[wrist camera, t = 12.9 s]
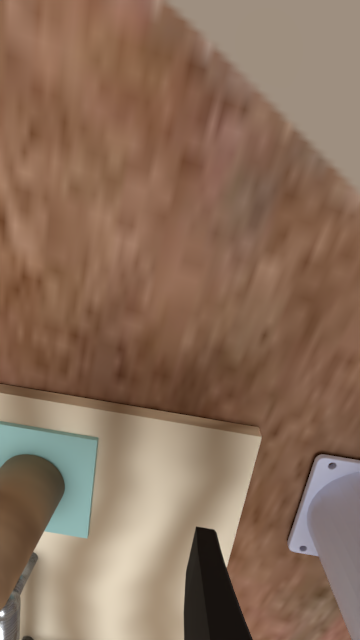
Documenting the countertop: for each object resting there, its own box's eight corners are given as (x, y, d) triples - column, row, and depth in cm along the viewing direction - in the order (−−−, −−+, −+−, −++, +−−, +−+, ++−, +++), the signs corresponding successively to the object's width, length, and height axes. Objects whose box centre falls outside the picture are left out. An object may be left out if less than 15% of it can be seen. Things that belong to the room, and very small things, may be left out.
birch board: (258, 427, 19) (261, 437, 18) (190, 683, 26) (190, 700, 25) (-46, 376, 19) (-59, 383, 18) (-35, 644, 26) (-44, 660, 25)
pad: (98, 437, 19) (97, 440, 19) (88, 534, 21) (87, 538, 21) (-26, 416, 19) (-30, 419, 19) (-24, 515, 21) (-27, 519, 21)
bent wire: (124, 564, 21) (110, 631, 18) (110, 660, 24) (95, 735, 21) (20, 546, 21) (-15, 609, 18) (18, 645, 24) (-14, 717, 21)
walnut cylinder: (63, 513, 20) (9, 625, 14) (0, 503, 20) (-80, 610, 14) (65, 460, 19) (6, 557, 13) (-2, 449, 19) (-90, 541, 13)
